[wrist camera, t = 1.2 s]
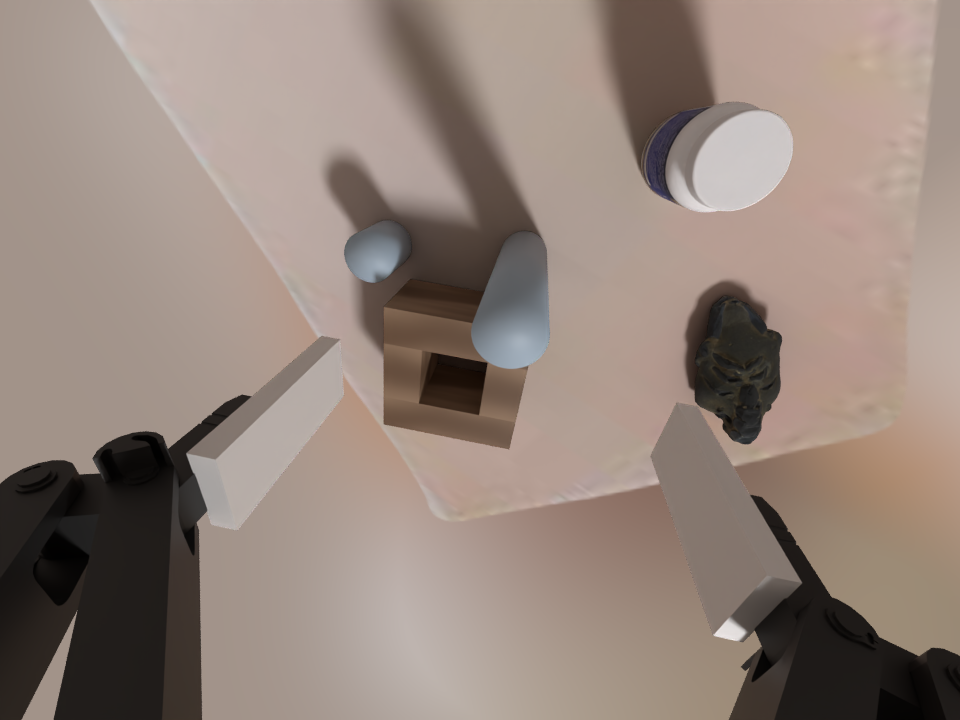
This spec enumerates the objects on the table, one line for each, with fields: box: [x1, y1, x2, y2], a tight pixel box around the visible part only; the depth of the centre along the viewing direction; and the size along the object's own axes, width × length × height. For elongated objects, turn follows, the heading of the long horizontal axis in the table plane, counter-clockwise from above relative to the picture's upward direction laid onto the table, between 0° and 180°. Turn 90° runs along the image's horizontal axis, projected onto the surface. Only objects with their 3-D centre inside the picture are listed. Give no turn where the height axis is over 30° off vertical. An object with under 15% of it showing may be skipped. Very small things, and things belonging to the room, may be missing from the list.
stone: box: [695, 296, 782, 444], centre depth 33 cm, size 7×13×5 cm, turn 17°
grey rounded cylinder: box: [344, 220, 412, 283], centre depth 32 cm, size 4×4×5 cm
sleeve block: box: [384, 279, 528, 449], centre depth 35 cm, size 12×12×7 cm
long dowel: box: [471, 231, 550, 369], centre depth 26 cm, size 4×4×16 cm
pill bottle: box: [641, 102, 793, 212], centre depth 24 cm, size 6×6×10 cm
